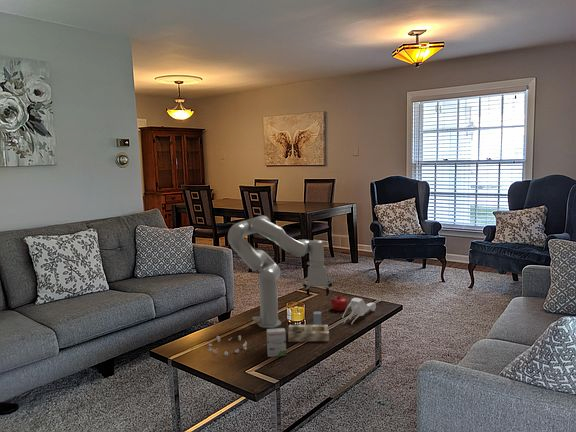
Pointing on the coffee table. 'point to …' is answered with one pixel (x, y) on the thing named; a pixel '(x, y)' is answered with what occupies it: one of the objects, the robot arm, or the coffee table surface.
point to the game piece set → (226, 352)
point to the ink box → (276, 342)
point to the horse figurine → (359, 308)
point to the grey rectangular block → (317, 318)
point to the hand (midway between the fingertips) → (317, 295)
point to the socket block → (308, 333)
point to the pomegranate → (339, 303)
